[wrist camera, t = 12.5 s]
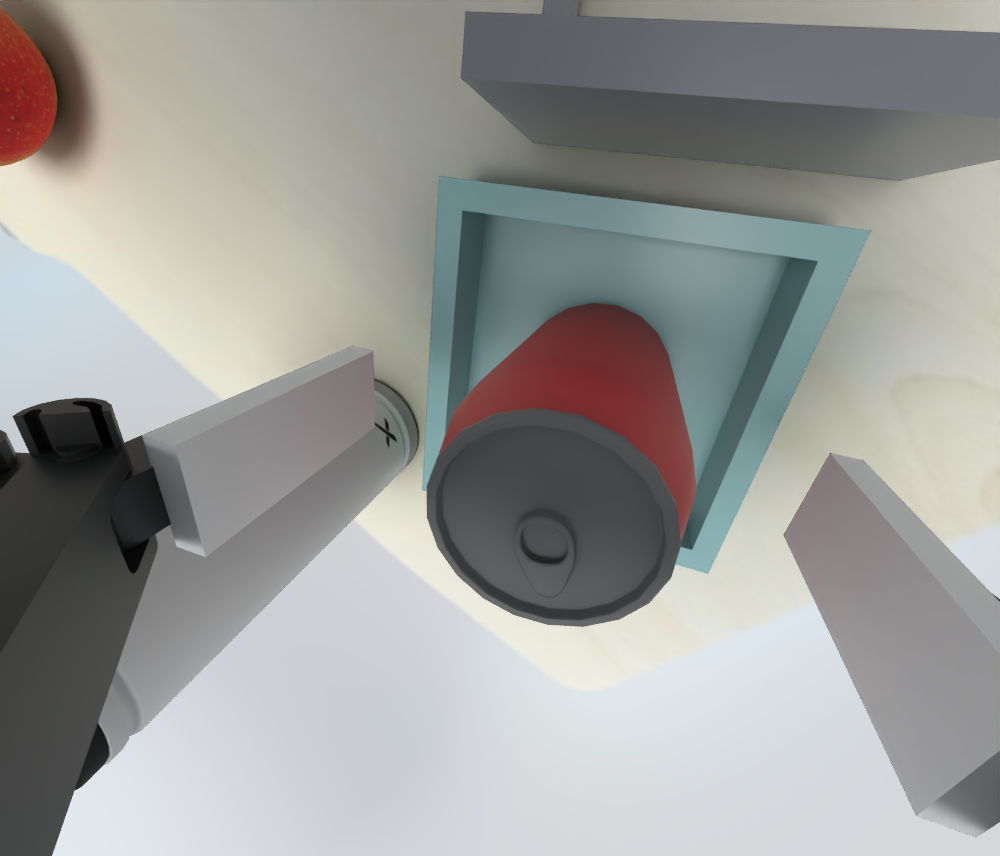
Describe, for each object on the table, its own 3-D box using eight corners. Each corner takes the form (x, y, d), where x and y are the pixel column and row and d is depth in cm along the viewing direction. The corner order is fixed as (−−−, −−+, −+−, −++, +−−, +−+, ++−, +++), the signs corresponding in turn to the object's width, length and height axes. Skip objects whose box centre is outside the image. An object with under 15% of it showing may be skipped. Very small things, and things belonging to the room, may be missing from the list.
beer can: (529, 436, 22) (427, 620, 11) (520, 305, 19) (378, 386, 9) (665, 441, 20) (695, 670, 9) (675, 296, 17) (731, 387, 7)
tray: (471, 185, 18) (439, 176, 15) (826, 231, 16) (870, 230, 13) (448, 459, 25) (422, 490, 22) (698, 527, 22) (708, 573, 19)
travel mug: (425, 387, 23) (-228, 852, 6) (414, 484, 26) (-32, 983, 9) (326, 358, 24) (-473, 673, 7) (327, 455, 27) (-224, 844, 10)
